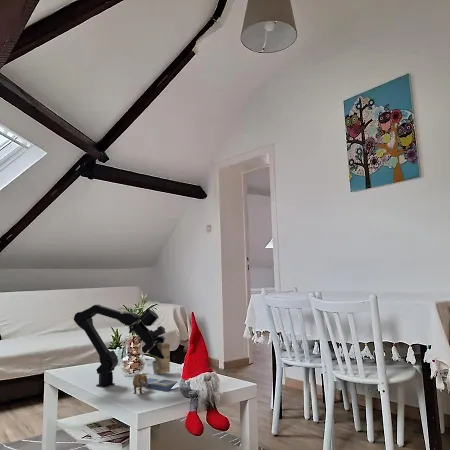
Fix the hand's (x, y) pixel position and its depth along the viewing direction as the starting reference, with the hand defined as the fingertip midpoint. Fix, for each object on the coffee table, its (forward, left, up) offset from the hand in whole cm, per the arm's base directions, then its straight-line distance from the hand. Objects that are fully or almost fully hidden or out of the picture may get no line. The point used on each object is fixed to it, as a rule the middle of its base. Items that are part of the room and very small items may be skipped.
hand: (165, 357), depth 191 cm
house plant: (-22, +19, -14) cm, 32 cm away
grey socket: (+1, -1, -12) cm, 12 cm away
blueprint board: (-4, -1, -14) cm, 14 cm away
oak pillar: (-1, -1, -7) cm, 7 cm away
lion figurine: (-4, -12, -14) cm, 19 cm away
